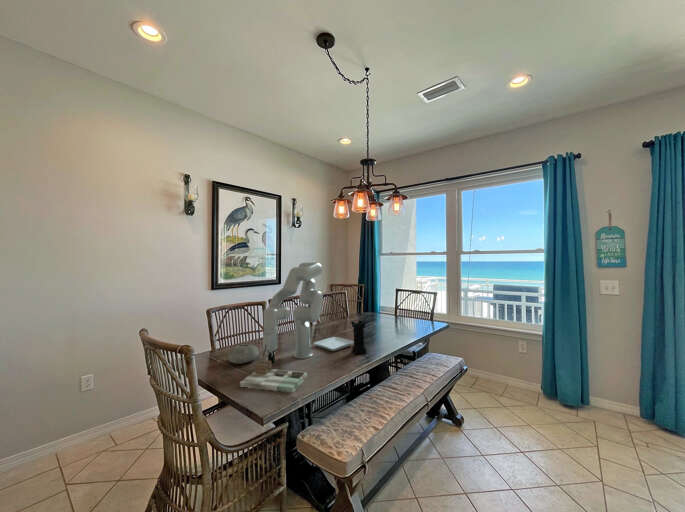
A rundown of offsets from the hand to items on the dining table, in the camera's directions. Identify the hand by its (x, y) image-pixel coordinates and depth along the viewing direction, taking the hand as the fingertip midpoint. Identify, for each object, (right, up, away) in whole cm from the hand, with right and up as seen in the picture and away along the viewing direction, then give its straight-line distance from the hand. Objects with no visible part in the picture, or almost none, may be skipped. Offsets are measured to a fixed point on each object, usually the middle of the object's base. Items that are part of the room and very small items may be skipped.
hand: (271, 363), depth 158 cm
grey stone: (-21, -5, +15) cm, 26 cm away
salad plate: (+34, -4, +41) cm, 53 cm away
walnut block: (-2, -2, -8) cm, 9 cm away
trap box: (+5, -4, -15) cm, 16 cm away
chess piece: (+51, -3, +26) cm, 57 cm away
